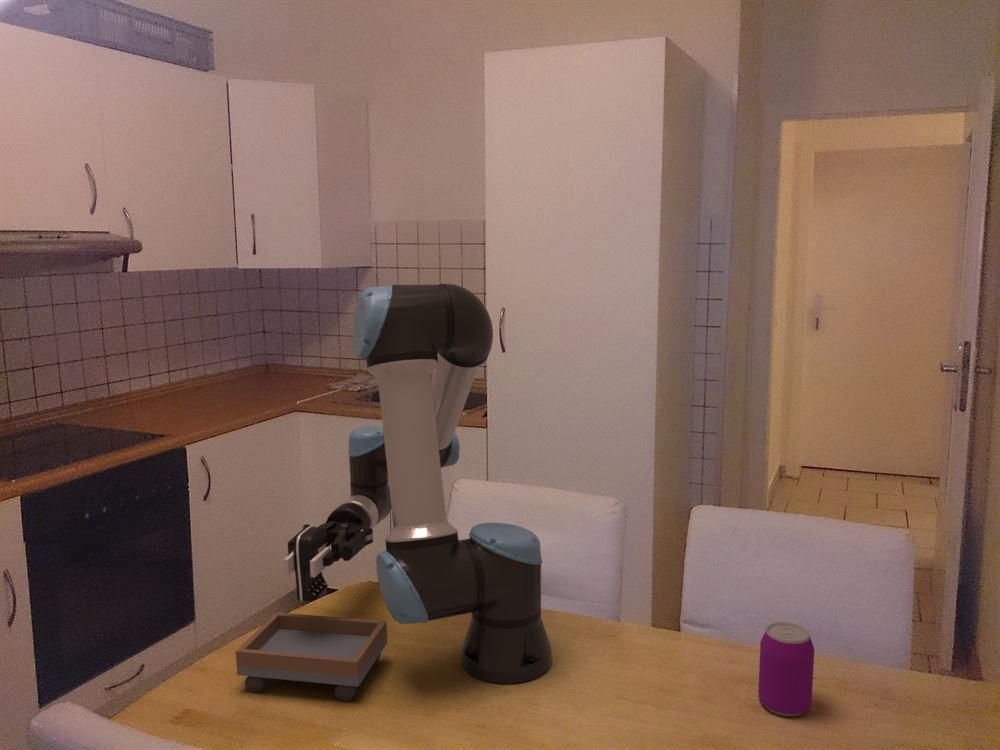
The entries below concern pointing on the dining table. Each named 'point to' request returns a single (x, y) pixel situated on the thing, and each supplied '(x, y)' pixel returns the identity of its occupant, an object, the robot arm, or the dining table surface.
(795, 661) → the beverage can
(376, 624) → the tray
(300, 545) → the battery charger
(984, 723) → the dining table surface
